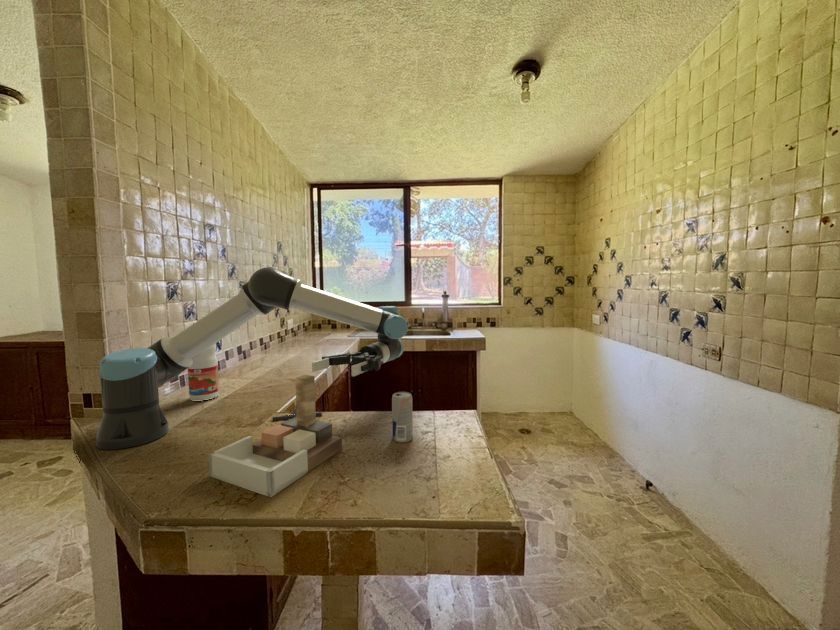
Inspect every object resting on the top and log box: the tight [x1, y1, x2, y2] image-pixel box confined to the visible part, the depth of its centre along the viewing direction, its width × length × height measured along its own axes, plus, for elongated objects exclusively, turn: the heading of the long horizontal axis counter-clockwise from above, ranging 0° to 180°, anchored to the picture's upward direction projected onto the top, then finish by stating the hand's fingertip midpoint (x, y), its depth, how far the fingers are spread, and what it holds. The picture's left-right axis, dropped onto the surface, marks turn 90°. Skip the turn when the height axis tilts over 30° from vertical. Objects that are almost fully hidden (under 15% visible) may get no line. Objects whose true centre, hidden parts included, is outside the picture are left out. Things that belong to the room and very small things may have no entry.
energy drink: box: [391, 391, 414, 444], centre depth 92 cm, size 5×5×12 cm
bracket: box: [272, 409, 323, 422], centre depth 114 cm, size 14×15×3 cm
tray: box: [208, 435, 309, 498], centre depth 74 cm, size 18×10×5 cm, turn 65°
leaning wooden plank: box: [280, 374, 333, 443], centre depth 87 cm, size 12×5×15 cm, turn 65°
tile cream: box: [283, 429, 316, 453], centre depth 81 cm, size 5×5×3 cm
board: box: [252, 434, 343, 473], centre depth 84 cm, size 18×12×3 cm, turn 65°
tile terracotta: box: [261, 424, 293, 448], centre depth 83 cm, size 5×5×3 cm
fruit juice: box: [187, 322, 220, 401], centre depth 127 cm, size 9×9×28 cm
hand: (332, 369), depth 95 cm, fingers open, 13 cm apart
